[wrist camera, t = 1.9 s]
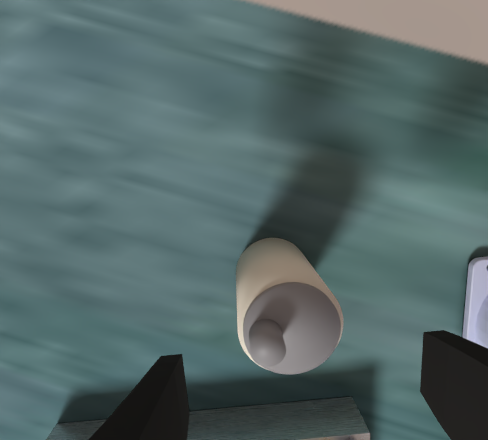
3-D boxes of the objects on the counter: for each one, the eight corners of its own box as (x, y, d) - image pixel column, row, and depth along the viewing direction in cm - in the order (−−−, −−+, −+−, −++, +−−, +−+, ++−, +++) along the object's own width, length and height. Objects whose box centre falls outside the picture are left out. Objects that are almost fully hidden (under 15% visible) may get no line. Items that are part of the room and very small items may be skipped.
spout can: (306, 235, 16) (357, 287, 10) (308, 302, 17) (357, 394, 10) (233, 240, 16) (233, 297, 9) (238, 308, 17) (242, 404, 10)
